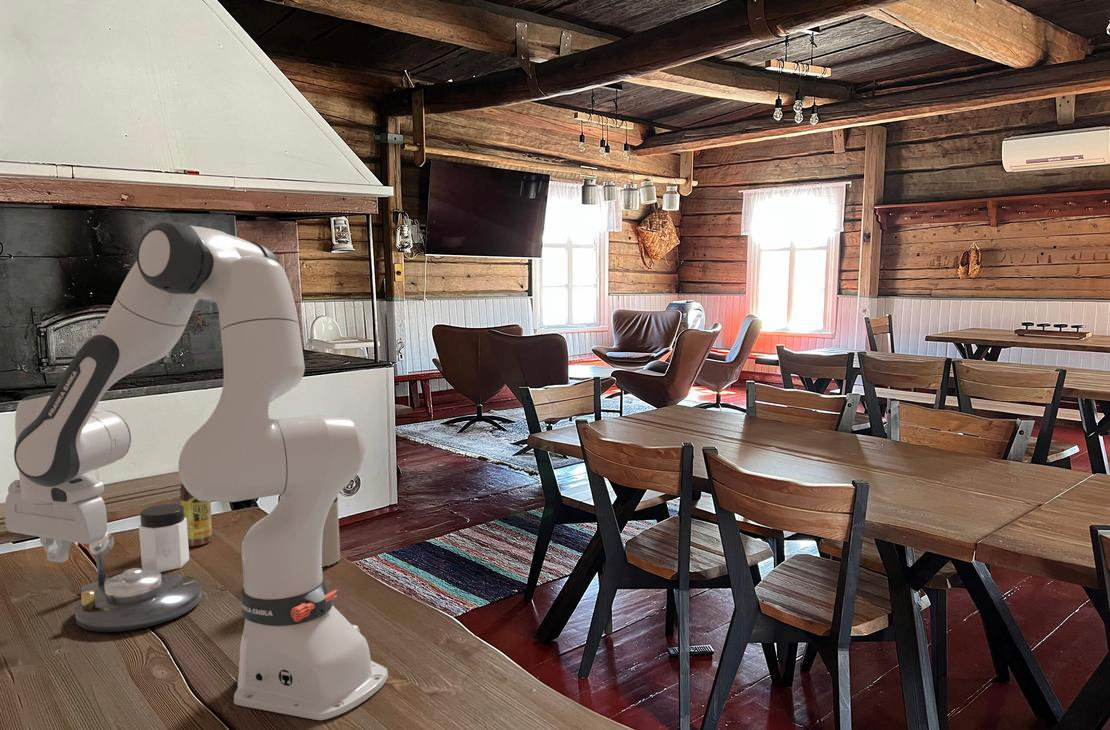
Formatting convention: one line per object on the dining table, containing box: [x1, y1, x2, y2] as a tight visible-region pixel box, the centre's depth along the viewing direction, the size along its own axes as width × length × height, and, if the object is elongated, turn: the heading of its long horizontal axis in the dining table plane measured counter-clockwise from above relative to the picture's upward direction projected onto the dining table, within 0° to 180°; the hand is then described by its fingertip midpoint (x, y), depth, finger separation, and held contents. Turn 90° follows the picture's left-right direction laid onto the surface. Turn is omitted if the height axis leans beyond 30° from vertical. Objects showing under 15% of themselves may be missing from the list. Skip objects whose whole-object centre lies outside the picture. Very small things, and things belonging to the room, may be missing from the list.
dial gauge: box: [81, 531, 115, 593], centre depth 145 cm, size 7×5×12 cm
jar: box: [138, 503, 190, 573], centre depth 159 cm, size 9×8×12 cm
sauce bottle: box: [179, 482, 213, 547], centre depth 172 cm, size 6×6×20 cm
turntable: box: [74, 573, 202, 633], centre depth 138 cm, size 20×20×5 cm
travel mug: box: [322, 496, 341, 568], centre depth 159 cm, size 8×8×18 cm
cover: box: [104, 567, 162, 605], centre depth 138 cm, size 9×9×4 cm
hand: (58, 560), depth 133 cm, fingers closed
